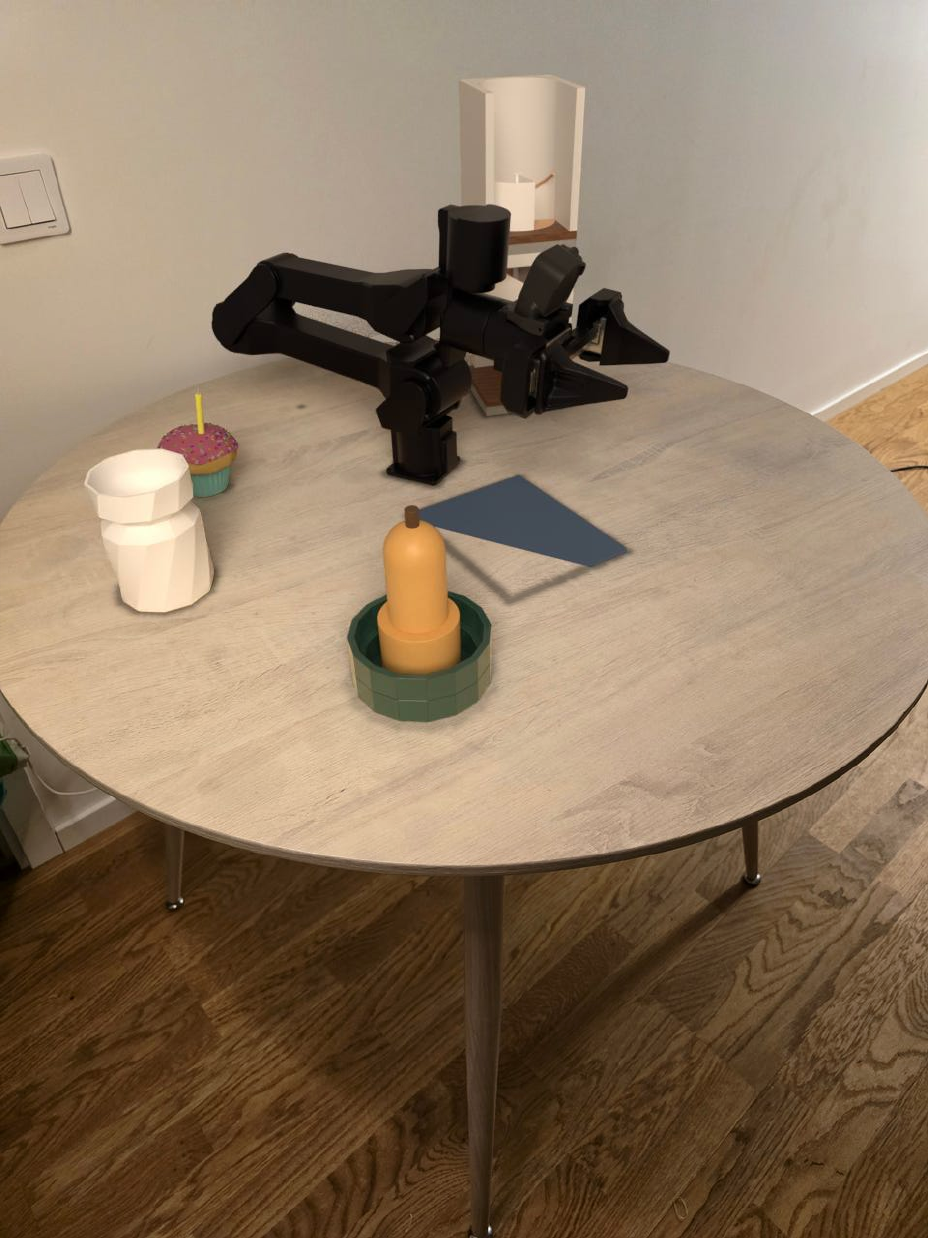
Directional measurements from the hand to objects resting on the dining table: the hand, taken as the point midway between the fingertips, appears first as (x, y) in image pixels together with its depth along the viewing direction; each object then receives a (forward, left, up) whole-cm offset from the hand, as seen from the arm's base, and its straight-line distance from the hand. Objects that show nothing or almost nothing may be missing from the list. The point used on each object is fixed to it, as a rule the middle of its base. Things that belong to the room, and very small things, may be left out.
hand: (648, 373), depth 77 cm
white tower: (-24, +26, -17) cm, 39 cm away
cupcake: (-45, -11, -17) cm, 50 cm away
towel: (-10, -5, -17) cm, 20 cm away
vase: (-36, -27, -17) cm, 48 cm away
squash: (-8, -28, -16) cm, 34 cm away
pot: (-8, -28, -17) cm, 34 cm away
